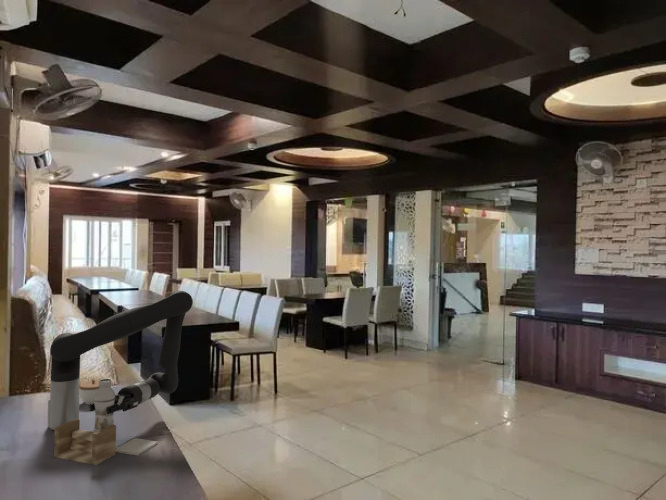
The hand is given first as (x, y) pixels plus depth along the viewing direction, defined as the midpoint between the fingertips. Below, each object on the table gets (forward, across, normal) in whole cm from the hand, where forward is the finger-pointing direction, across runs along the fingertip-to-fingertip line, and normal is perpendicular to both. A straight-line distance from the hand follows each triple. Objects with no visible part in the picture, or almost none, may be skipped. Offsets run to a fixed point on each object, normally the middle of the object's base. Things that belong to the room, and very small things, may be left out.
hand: (99, 409), depth 157 cm
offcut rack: (+6, 0, +13) cm, 14 cm away
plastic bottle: (-2, 0, +11) cm, 11 cm away
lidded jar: (-36, -37, +13) cm, 53 cm away
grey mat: (-5, +11, +13) cm, 17 cm away
